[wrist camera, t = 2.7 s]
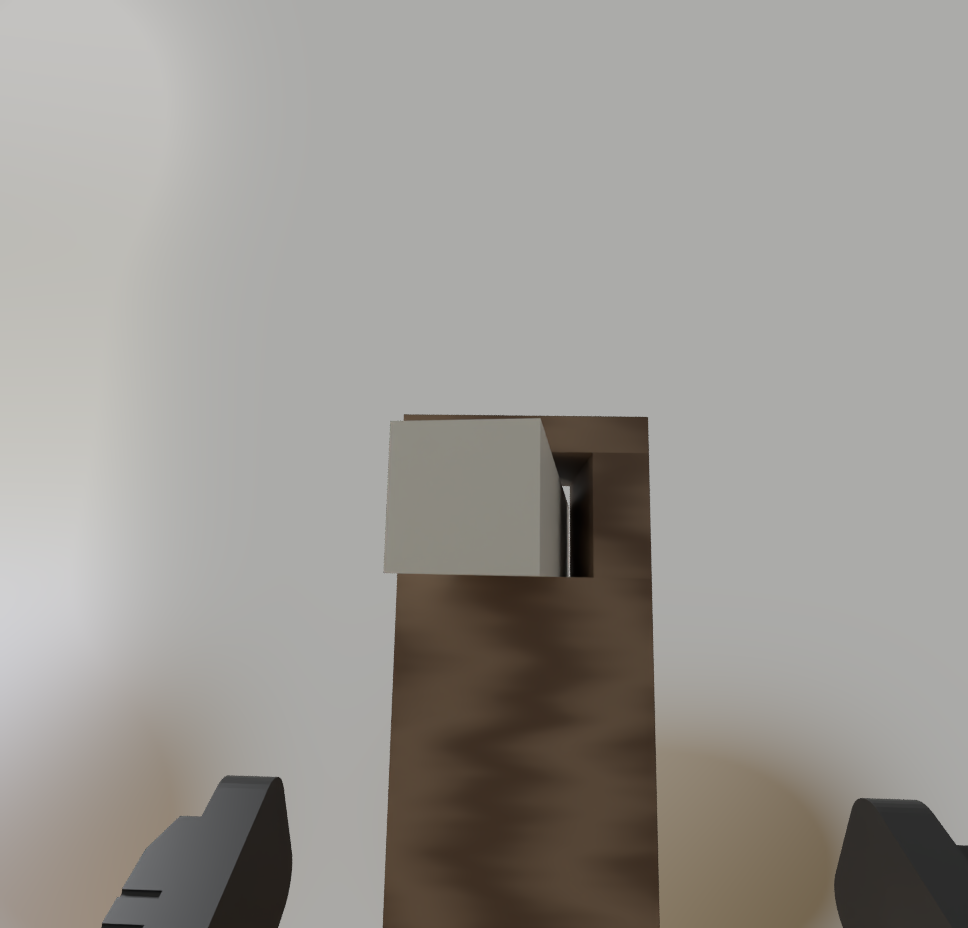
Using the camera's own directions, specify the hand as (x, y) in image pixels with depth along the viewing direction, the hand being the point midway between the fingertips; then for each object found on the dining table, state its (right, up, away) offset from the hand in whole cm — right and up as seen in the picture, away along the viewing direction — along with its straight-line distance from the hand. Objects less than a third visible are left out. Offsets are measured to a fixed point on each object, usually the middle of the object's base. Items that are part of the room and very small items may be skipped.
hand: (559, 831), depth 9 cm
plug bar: (0, +1, +18) cm, 18 cm away
